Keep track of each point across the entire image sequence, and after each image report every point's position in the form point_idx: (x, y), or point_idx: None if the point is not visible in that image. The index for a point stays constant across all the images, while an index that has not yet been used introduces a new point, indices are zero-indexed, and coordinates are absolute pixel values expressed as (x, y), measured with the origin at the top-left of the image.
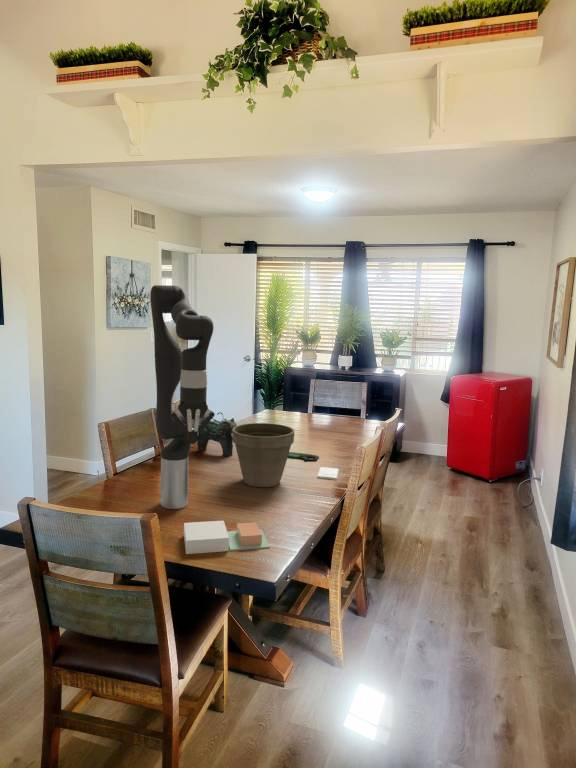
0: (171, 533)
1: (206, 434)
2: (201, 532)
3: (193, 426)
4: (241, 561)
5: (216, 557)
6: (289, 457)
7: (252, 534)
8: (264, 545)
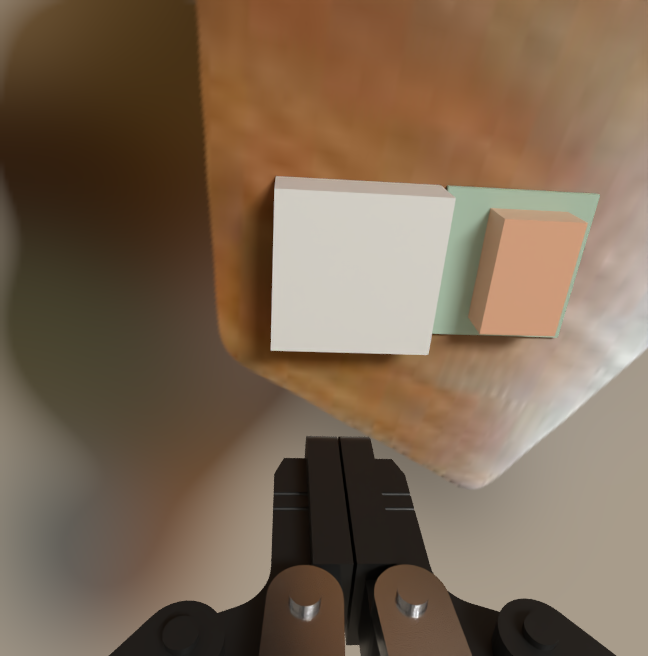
0: (224, 143)
1: None
2: (336, 296)
3: (378, 639)
4: (435, 396)
5: (367, 362)
6: None
7: (523, 327)
8: None
